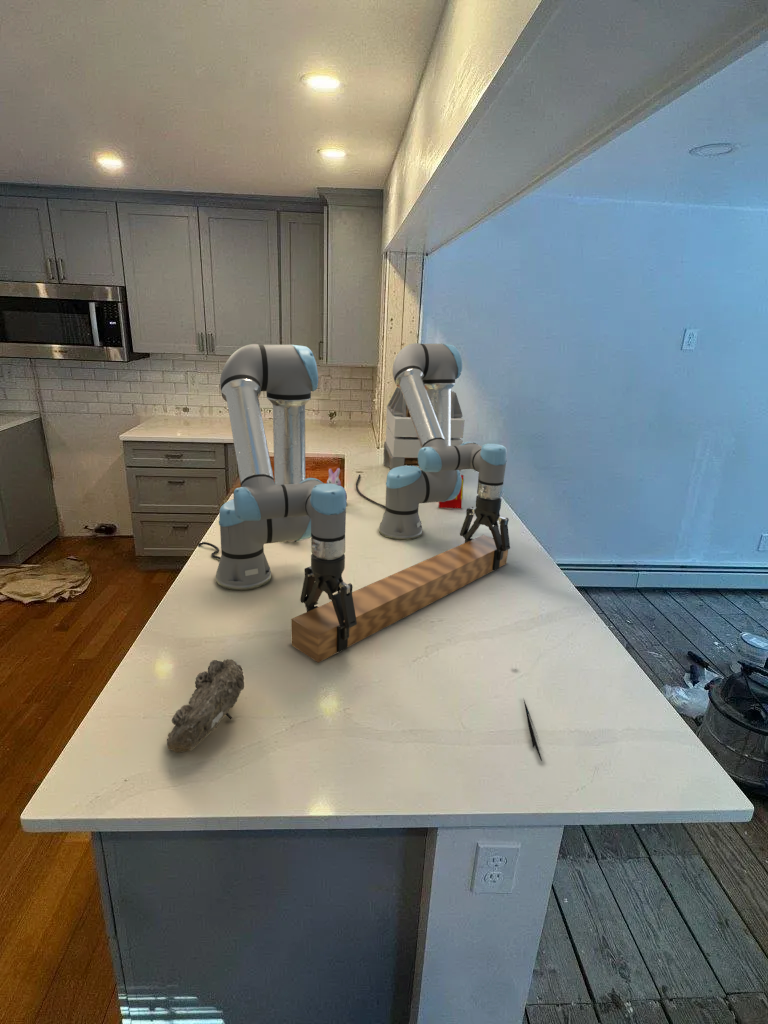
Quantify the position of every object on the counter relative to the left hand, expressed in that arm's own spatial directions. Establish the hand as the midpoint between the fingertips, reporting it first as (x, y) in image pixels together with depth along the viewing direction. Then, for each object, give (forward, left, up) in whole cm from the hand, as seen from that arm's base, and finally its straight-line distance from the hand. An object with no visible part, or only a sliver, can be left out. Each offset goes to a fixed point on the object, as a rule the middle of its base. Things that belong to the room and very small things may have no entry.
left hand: (327, 640), depth 133 cm
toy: (-60, +103, -1) cm, 119 cm away
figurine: (-78, +59, -1) cm, 98 cm away
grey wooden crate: (-94, +121, -1) cm, 153 cm away
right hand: (-7, +64, 0) cm, 64 cm away
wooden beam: (-3, +32, -1) cm, 32 cm away
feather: (+44, +17, -1) cm, 47 cm away
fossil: (+8, -32, -1) cm, 33 cm away
